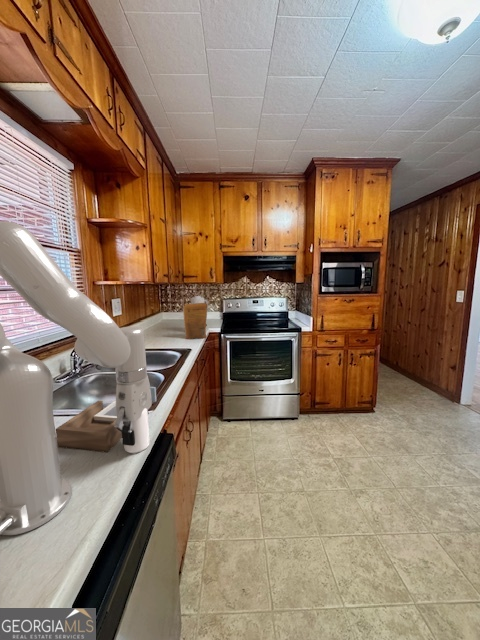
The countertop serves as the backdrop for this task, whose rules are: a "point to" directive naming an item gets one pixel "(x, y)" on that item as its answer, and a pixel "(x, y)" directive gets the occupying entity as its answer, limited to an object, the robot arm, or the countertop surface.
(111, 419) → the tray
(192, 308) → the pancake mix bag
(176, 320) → the countertop surface
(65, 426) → the wooden coaster holder
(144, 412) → the can
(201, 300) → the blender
